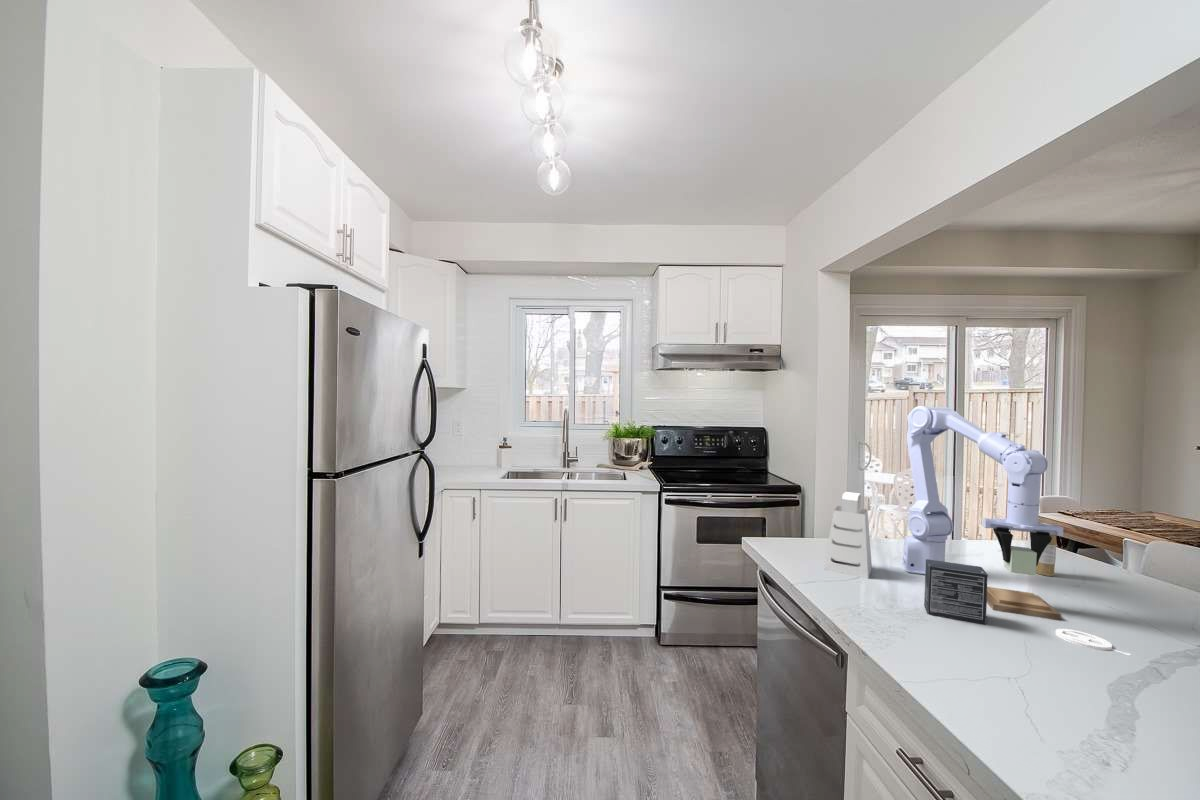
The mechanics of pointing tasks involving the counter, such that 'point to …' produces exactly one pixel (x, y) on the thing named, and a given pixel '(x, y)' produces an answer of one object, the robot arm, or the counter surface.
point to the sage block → (1022, 561)
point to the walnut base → (1020, 603)
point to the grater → (849, 538)
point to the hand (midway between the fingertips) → (1019, 563)
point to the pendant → (1085, 639)
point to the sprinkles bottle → (1047, 559)
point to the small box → (956, 591)
